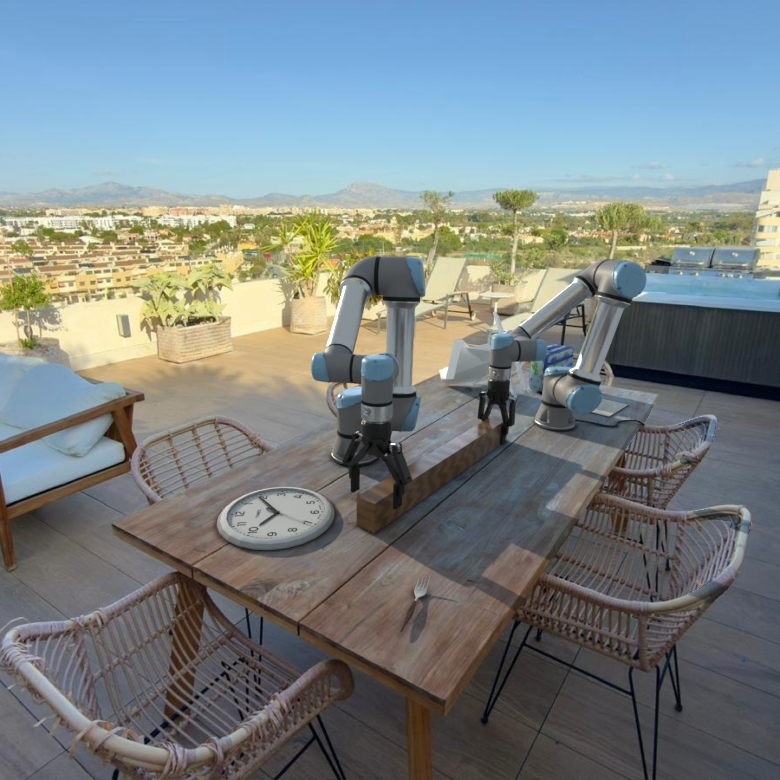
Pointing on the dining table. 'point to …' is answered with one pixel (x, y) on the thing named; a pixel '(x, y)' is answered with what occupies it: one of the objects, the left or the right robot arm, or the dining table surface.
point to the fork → (418, 593)
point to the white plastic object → (475, 363)
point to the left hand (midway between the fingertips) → (375, 498)
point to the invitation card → (608, 407)
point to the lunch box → (549, 364)
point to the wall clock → (275, 518)
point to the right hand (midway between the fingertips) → (494, 440)
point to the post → (428, 474)
